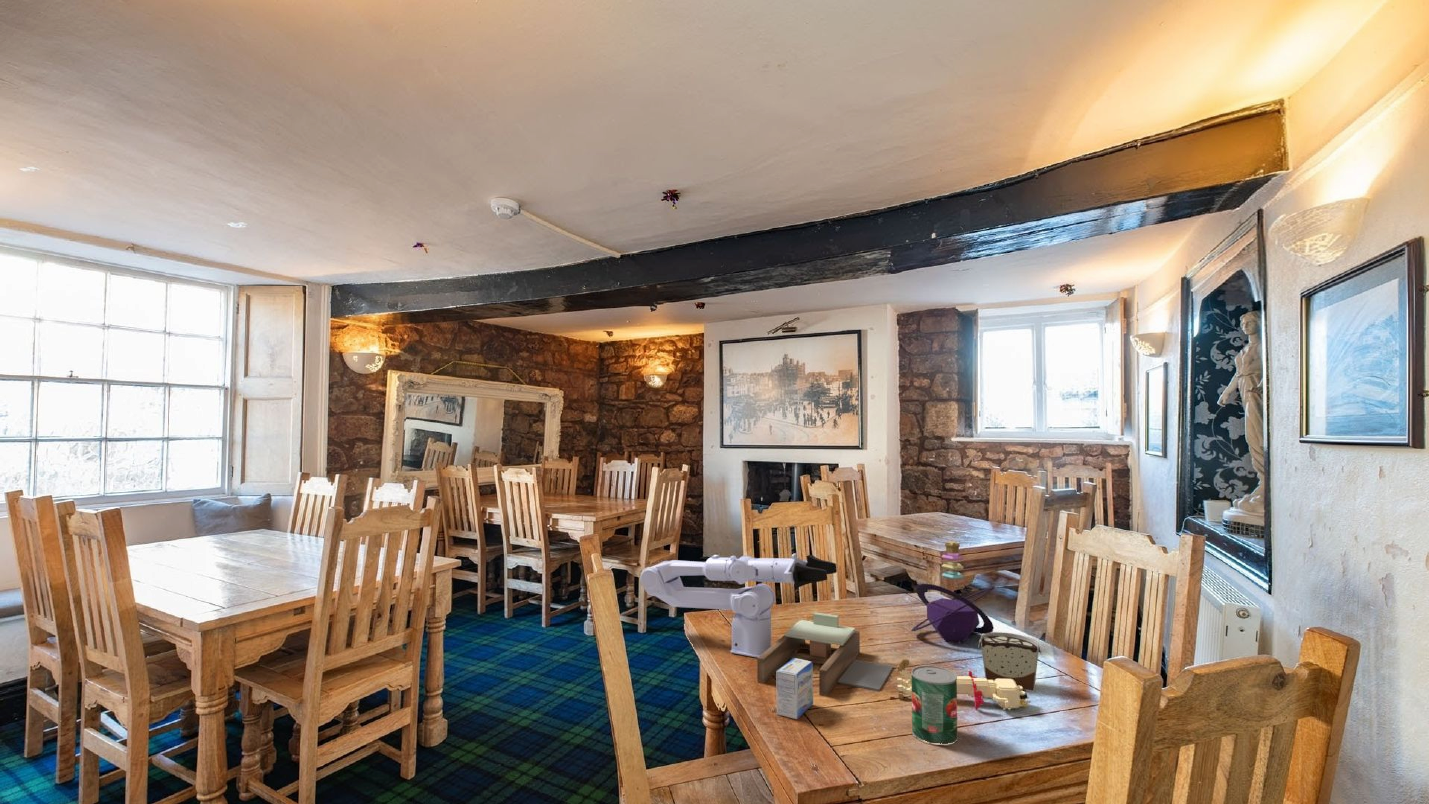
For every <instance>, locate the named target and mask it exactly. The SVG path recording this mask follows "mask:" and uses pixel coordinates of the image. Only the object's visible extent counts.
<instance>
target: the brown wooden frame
mask: <svg viewBox="0 0 1429 804" xmlns="http://www.w3.org/2000/svg"><path fill="white" fill-rule="evenodd" d="M860 634H861V633H860V630H855V632H854V633H853V634H852V635H851V637H850V638H849V639H848V640H847V641H846V642H845V644H844V645H843V646H841V645H838V648H837V647H833V646H831V653H832V654H831V656H830V657H829V658H824V657H818V656H813V655H810V654H807V653H800V652H798V651H800V649H802V648H803V649H804V650H809V651H810V643H807V642H806V640H805V639H799V638H793V637H787V636H785V634H784V635H783V636H782V637H781V638H779V639H778V640H777V641H775V643H773V644H771V647H770V648H769V649H767V650H766V651H765V652H764V653H763V654H762V655H760V656H759V657H758V658H757V657H756V658H757V661H756V662H757V664H756V666H757V667H756V668H757V669H756V671H757V672H756V674H757V676H756V677H757V683H760V684H765V683H766V682H767V681H768V680H769V679H770V678H771V677H772V676H773V675H774V674H775V673H776V671H777V670H779V669H780V668H781V667H783V666H784V665H785V664H786V663H788V662H789V661H790V660H791V659H793V658H797V659H803V660H807V661H811V662H812V663H817V664H820V665H821V664H822V665H821V667H820V668H819V670H818V672H819V673H818V675H819V677H818V679H819V682H818V684H819V686H818V692H819V693H818V694H819V696H824V697H827V696H828V694H830V692H831V691H832V690H833V688H834V687H835V686H836V685H837V684H838V680H839V679H840V678H841V676H842V675H843V674H844V672H845V671H846V670H847V668H848V667H849V666H850V665H851V663H852V662H853V661H854V659H855V660H856V658H857V657H858V655H860V653H861V651H860V649H861V646H860V643H861V642H860V640H861V639H860V637H861V635H860Z"/></svg>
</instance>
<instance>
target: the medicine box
mask: <svg viewBox="0 0 1429 804" xmlns="http://www.w3.org/2000/svg"><path fill="white" fill-rule="evenodd" d="M813 663H814V662H811V661H807V660H803V659H797V658H791V659H790V660H788V661H787V662H786V663H784V664H783V665H782V666H781V667H780V668H779V669H778V670H777V671H776V672H775V673H776V674H775V675H776V679H775V681H776V684H775V685H776V714H777V715H779V716H782V717H785V718H789V719H794V720H798V719H799V718H800V717H801V716H802V715H804V713H805V712H806V711H807V710H809V708H811V706H813V704H814V683H813V682H814V681H813V680H814V679H813V678H814V677H813V676H814V675H813V674H814V671H813V669H814V668H813V667H814V666H813Z"/></svg>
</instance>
